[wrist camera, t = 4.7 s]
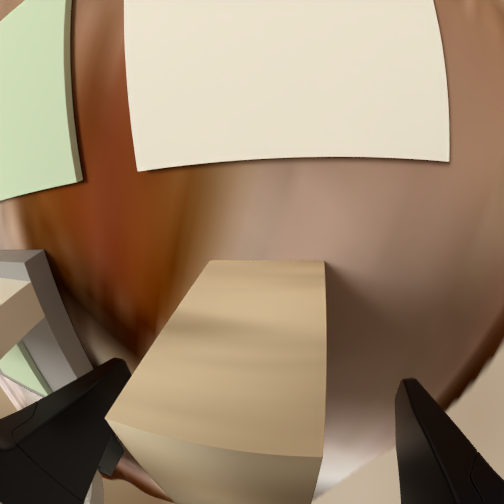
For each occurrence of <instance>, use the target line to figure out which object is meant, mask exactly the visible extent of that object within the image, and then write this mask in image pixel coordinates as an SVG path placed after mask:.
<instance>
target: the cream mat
mask: <svg viewBox="0 0 504 504" xmlns="http://www.w3.org/2000/svg"><path fill="white" fill-rule="evenodd" d="M124 37H125V60H126V75H127V88H128V99H129V109H130V119H131V127H132V135H133V143H134V150H135V157H136V164H137V171H145V170H152V169H159V168H167V167H175V166H184V165H193V164H203V163H213V162H224V161H237V160H252V159H269V158H293V157H382V158H404V159H421V160H434V161H446V162H449V107H448V91H447V80H446V71H445V62H444V55H443V48H442V42H441V36H440V30H439V25H438V20H437V16H436V11H435V7H434V3H433V0H124Z"/></svg>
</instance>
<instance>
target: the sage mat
mask: <svg viewBox="0 0 504 504" xmlns="http://www.w3.org/2000/svg"><path fill="white" fill-rule="evenodd" d="M71 5H72V0H25V1H24V2H23V3H21V4H20V5H19V6H18V7H16V8H15V9H14V10H13V11H12V12H11V13H9V14H8V15H7V16H6V17H5V18H4V19H3V20H2V21H0V201H1V200H4V199H8V198H12V197H15V196H19V195H23V194H27V193H31V192H35V191H39V190H43V189H48V188H52V187H57V186H61V185H66V184H71V183H76V182H79V181H81V180H83V177H82V171H81V166H80V160H79V153H78V146H77V139H76V131H75V123H74V113H73V102H72V88H71V68H70V24H71Z"/></svg>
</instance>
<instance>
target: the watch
mask: <svg viewBox="0 0 504 504" xmlns="http://www.w3.org/2000/svg"><path fill="white" fill-rule="evenodd" d="M123 453H124V450H123V449H122V447H121V446H120V444H119V443H118V441H117V440H116V438H115V437H114V435H113V434H112V436H111V438H110V441H109V443H108V445H107V448H106V450H105V452H104V455H103V457H102V459H101V462H100V464H99V466H98V469H97V471H96V474H95V476H94V478H93V481H92V483H91V486H90V488H89V491H88V493H87V496H86V498H85V502H84V504H104V488H103V482H102V477H101V474H100V473H99V471H100V472H102V473H105V474H107V475H109V476H111V475H112V473H113V472H114V470H115V468H116V466H117V464H118V462H119V460H120V458H121V457H122V455H123Z"/></svg>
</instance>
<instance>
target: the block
mask: <svg viewBox="0 0 504 504" xmlns="http://www.w3.org/2000/svg"><path fill="white" fill-rule="evenodd" d="M326 353H327V343H326V290H325V265H324V261H224V260H210V261H209V263H208V264H207V266H206V267H205V268H204V270H203V271H202V273H201V274H200V276H199V277H198V278H197V280H196V281H195V283H194V284H193V286H192V287H191V288H190V290H189V291H188V293H187V294H186V296H185V297H184V299H183V300H182V302H181V303H180V304H179V306H178V307H177V309H176V310H175V312H174V313H173V315H172V316H171V318H170V319H169V321H168V322H167V324H166V325H165V326H164V328H163V329H162V331H161V332H160V334H159V335H158V337H157V338H156V340H155V341H154V343H153V344H152V346H151V347H150V349H149V350H148V352H147V353H146V355H145V356H144V358H143V359H142V361H141V362H140V364H139V365H138V367H137V368H136V370H135V372H134V373H133V375H132V376H131V378H130V379H129V381H128V382H127V384H126V385H125V387H124V388H123V390H122V392H121V393H120V395H119V396H118V398H117V399H116V401H115V402H114V404H113V406H112V407H111V409H110V410H109V412H108V413H107V415H106V417H105V419H106V421H107V422H108V424H109V425H110V427H111V428H112V429H113V431H114V432H115V433H116V435H117V436H118V437H119V439H120V440H121V441H122V443H123V444H124V445H125V447H126V448H127V449H128V450H129V452H130V453H131V454H132V455H133V457H134V458H135V459H136V460H137V462H138V463H139V464H140V465H141V466H142V468H143V469H144V470H145V471H146V472H147V473H148V475H149V476H150V477H151V478H152V479H153V480H154V481H155V482H156V483H157V485H158V486H159V487H160V488H161V489H162V490H163V491H164V492H165V493H166V494H167V495H168V496H169V497H170V498H171V499H172V500H173V501H174V502H175V503H179V504H311V502H312V498H313V494H314V491H315V487H316V483H317V479H318V475H319V471H320V466H321V462H322V458H323V445H324V428H325V405H326Z"/></svg>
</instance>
